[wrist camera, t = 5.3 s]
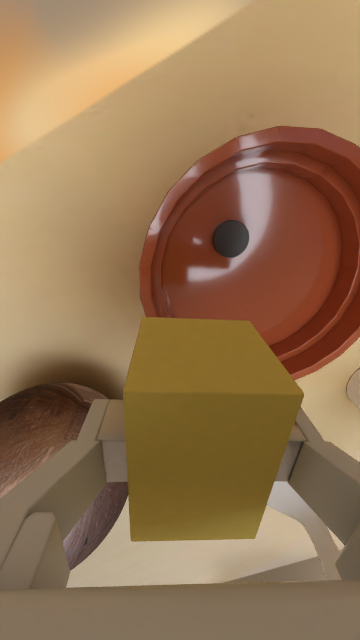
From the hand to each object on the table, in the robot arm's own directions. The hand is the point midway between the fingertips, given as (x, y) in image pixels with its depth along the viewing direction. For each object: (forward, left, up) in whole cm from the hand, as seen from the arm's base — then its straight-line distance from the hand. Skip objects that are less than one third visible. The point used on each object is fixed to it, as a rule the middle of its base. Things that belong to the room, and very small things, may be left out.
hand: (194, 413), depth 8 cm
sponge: (0, 0, -2) cm, 2 cm away
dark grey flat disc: (-5, +4, -15) cm, 16 cm away
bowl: (-2, +7, -16) cm, 17 cm away
